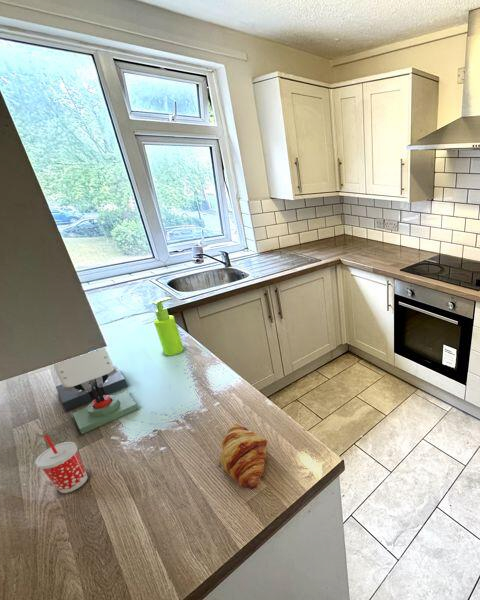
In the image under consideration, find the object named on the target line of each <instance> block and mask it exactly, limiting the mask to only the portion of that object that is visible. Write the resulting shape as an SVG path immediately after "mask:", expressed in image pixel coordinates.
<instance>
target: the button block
mask: <svg viewBox="0 0 480 600" xmlns="http://www.w3.org/2000/svg"><path fill="white" fill-rule="evenodd" d="M108 396H109V397H110V399H111V403H110V404H109V405H107V406H105V407H103V408H99V409H95V408H94V406H93V404H92V402H89V403H88V405H87V406H86V407H84V408H82V409H79V410H76V411H74V412H72V415H73V418H74V420H75V422H76V423H75V424H76V425H77V427H78V429H79V432H80V434H82V435H84V434H86V433H88V432H90V431H93V430H95V429H97V428H99V427H101V426H103V425H107V424H108V423H110V422H112V421H115V420H117V419H119V418H121V417H123V416H126V415H128V414H129V413H132V412H134V411H136V410H138V409H139V407H138V405H137V403H136V401H135V400H134V399H133V397H132V396H131V394H130V393H129V391H128V390H124V391H122V392H119V393H117V394H114V395H113V394H108Z"/></svg>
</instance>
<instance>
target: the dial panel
mask: <svg viewBox="0 0 480 600" xmlns="http://www.w3.org/2000/svg"><path fill="white" fill-rule="evenodd" d="M113 367H114V368H115V369H116V370H117V373H115V374H113V375H112V376H109V377H108V378H107V380H106V381H105V382H104V385H103V389H104V391H105V393H106V395H108V396H109V395H111V394H113V393H115V392H118V391H120V390H122V389H125V388H128V387H129V386H128V383H127V380H126V378H125V376H124V375H123V374H122V373H121V371H120V370H119V368H118V367H117V366H116V364H113ZM93 387H94V385H93ZM94 388H95V387H94ZM55 389H56V391H57V393H58V396H59V399H60V401H61V403H62V405H63V407H64V409H65V411H66V412H68V411H71V410H74V409H76V408H78V407H80V406H84V405H86V404H89V403H92V401H93V400H91V398H90V396H89V393H88V392H86V391H84V390H78V389H74V390H71V391H66V392H65V391H63V388H62V383H61V384H59V385H56V386H55ZM95 390H96V389H95ZM96 393H97V392H96ZM97 395H98V394H97ZM98 397H99V396H98Z"/></svg>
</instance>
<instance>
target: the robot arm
mask: <svg viewBox="0 0 480 600" xmlns="http://www.w3.org/2000/svg"><path fill="white" fill-rule="evenodd" d="M113 366H114V363H113V361H112V359H111V357H110V355H109V353H108V351H107V349H106V347H105V348H102V349H99V350H96V351H92V352H90V353H87V354H84V355H82V356H78V357H75V358H73V359H69V360H66V361H63V362H60V363H57V364H54V365H53V369H54V370H55V373H56V375H57V378H58V379H59V381H60V383H61V384H62V388H63V391H65V392H66V391H71V390H74V389H78V390H84V391H86V392H88V393H89V396H90V398H91V400H94V399H95V400H96V402H97V403H98V402H99V401H100V400H101V401H103V400H105V399H104V397H103V396H104V395H106V393H105V391H104V389H103V385H104V382H105V381H106V380H107V378H108V377H109V376H112V375H113V374H115V373H117V370H116V369H115V368H114V367H113ZM93 379H95V384H94V387H95V388H94V387H93V386H92V385H90V384H89V383H88V382H87V381H90V380H93ZM95 389H96V390H95ZM96 392H97V393H96ZM97 394H98V395H97ZM98 396H99V397H98ZM99 398H100V399H99Z"/></svg>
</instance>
